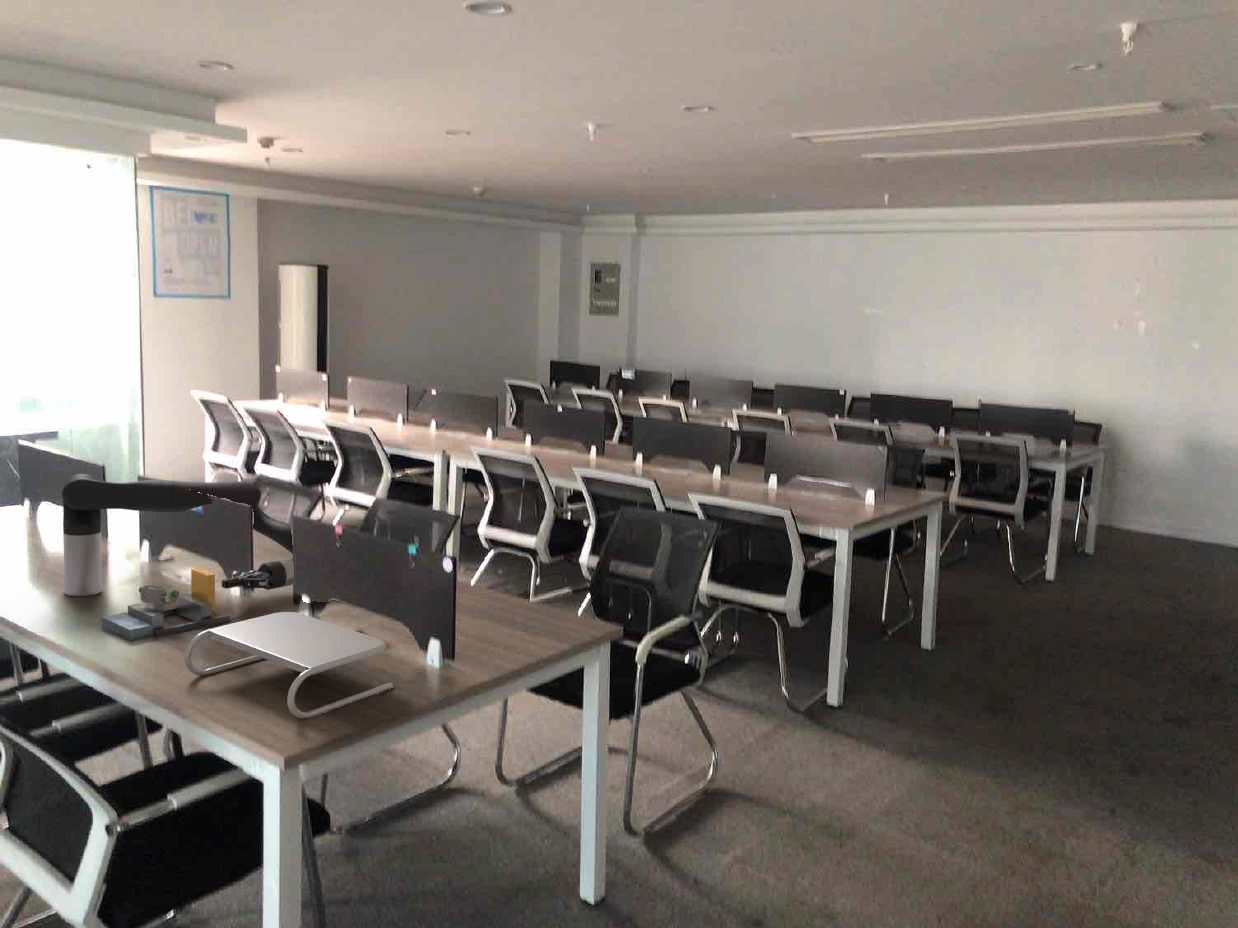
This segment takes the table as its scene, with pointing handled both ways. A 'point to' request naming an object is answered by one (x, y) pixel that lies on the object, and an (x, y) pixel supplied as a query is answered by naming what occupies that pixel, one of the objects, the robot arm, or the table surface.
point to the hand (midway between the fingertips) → (223, 584)
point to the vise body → (150, 623)
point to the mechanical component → (157, 596)
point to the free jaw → (198, 597)
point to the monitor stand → (294, 649)
